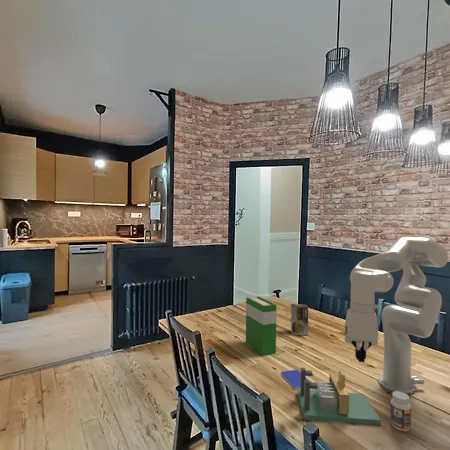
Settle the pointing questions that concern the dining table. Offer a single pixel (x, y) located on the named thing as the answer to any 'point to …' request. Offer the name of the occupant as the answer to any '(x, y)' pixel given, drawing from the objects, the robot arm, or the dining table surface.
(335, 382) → the tan notched block
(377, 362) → the dining table surface
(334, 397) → the heatsink
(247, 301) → the hardback book
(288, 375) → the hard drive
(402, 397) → the pill bottle
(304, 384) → the board
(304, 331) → the coffee box
